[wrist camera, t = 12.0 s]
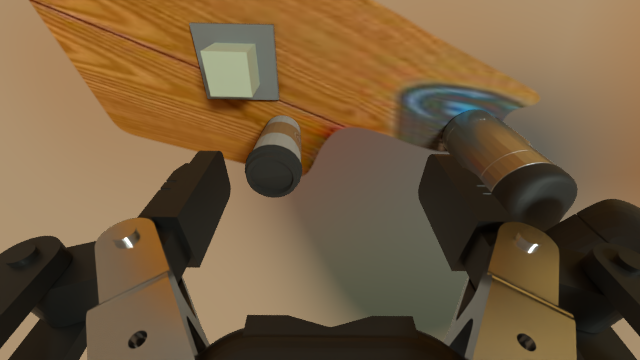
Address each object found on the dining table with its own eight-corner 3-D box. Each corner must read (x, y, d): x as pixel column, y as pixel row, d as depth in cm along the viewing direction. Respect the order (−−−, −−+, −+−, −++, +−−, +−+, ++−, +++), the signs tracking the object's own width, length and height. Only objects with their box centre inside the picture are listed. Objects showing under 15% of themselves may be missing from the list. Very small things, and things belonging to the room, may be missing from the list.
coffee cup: (309, 146, 51) (306, 197, 39) (267, 152, 51) (252, 202, 39) (301, 105, 46) (295, 149, 34) (255, 112, 46) (233, 156, 34)
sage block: (255, 43, 39) (246, 52, 34) (259, 84, 42) (252, 97, 38) (214, 42, 39) (200, 50, 34) (222, 83, 42) (210, 96, 38)
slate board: (273, 24, 38) (272, 25, 37) (279, 97, 45) (278, 99, 44) (191, 22, 38) (189, 23, 37) (209, 96, 45) (207, 98, 44)
